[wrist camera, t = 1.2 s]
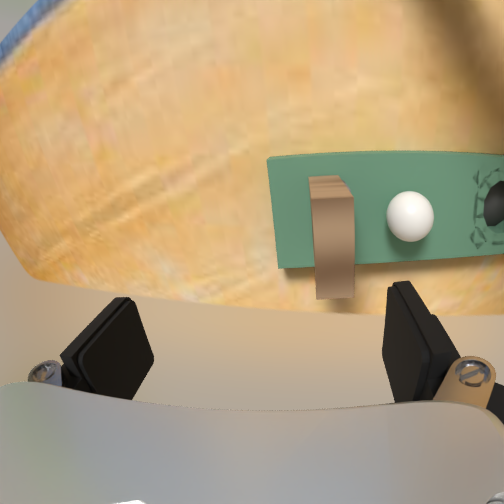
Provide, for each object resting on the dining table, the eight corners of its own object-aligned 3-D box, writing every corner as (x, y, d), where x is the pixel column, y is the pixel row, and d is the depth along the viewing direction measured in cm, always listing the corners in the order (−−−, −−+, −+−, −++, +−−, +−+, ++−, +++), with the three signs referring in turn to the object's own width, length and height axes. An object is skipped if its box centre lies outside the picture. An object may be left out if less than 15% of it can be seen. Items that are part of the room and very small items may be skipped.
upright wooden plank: (308, 176, 31) (311, 199, 22) (342, 174, 30) (360, 196, 21) (313, 250, 34) (316, 299, 25) (345, 249, 33) (360, 297, 24)
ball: (380, 187, 30) (393, 198, 26) (424, 186, 29) (442, 197, 25) (381, 233, 32) (392, 250, 27) (422, 230, 31) (439, 248, 27)
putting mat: (269, 157, 34) (266, 159, 31) (524, 157, 27) (537, 160, 25) (280, 257, 38) (278, 268, 35) (517, 243, 32) (528, 251, 29)
